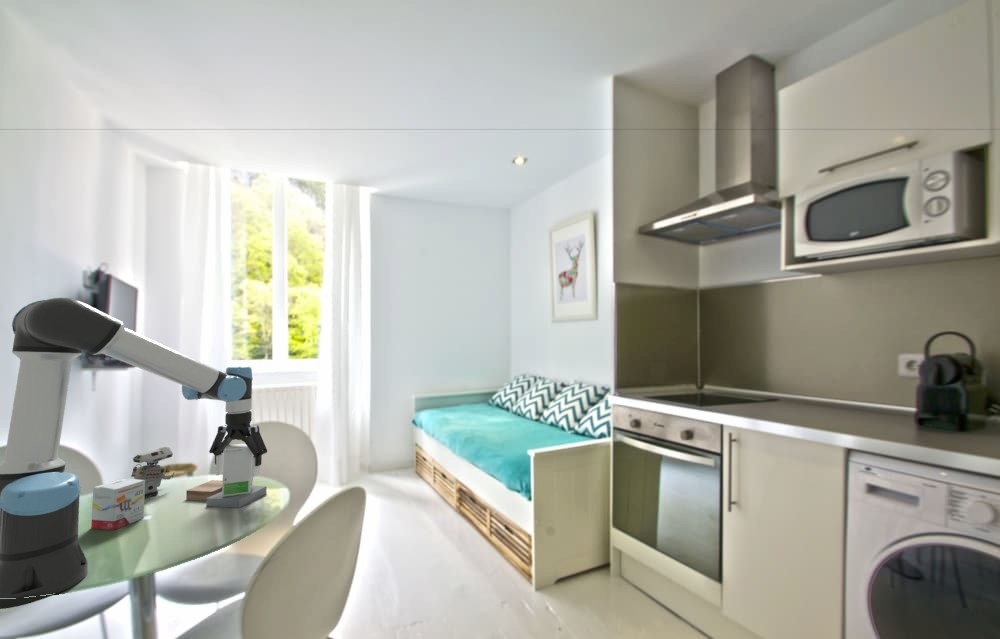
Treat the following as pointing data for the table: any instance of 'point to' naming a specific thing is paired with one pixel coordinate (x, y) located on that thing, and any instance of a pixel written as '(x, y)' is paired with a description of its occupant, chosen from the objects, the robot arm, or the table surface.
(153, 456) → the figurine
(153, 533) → the table surface
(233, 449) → the skincare box
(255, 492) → the slate slab
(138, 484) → the ink box
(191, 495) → the walnut stand
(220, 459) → the robot arm
